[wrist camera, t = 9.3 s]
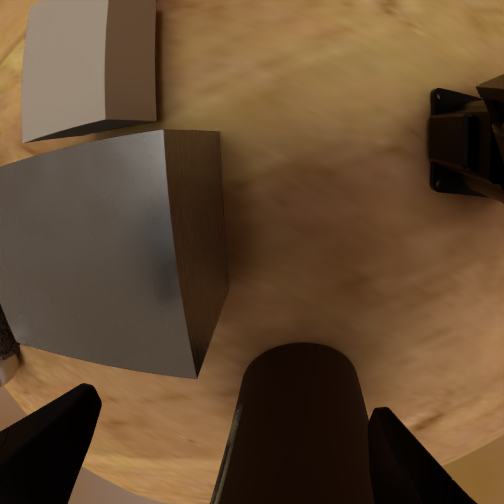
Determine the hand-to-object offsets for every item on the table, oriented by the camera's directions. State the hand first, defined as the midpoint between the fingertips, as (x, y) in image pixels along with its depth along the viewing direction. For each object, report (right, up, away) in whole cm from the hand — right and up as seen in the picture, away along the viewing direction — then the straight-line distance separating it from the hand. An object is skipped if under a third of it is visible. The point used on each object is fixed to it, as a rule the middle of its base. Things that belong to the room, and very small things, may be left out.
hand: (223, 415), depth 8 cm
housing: (-7, +7, +11) cm, 15 cm away
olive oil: (+5, -6, +15) cm, 17 cm away
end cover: (-7, +19, +5) cm, 21 cm away
